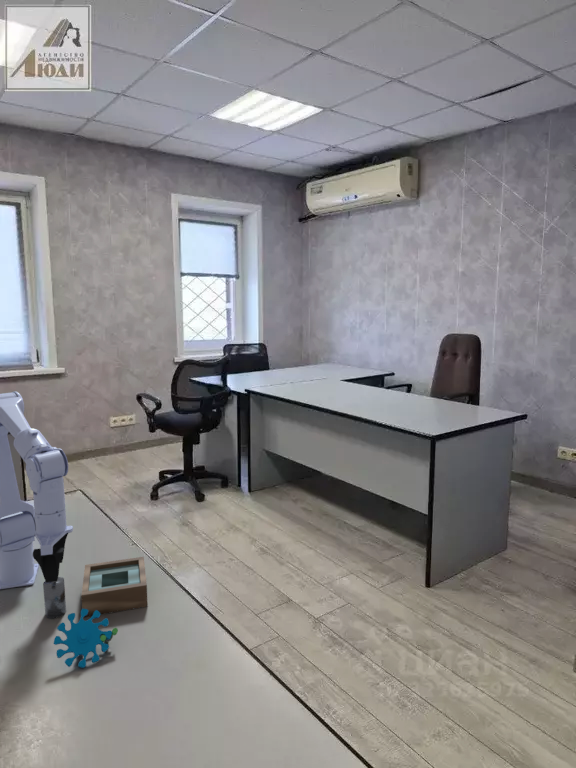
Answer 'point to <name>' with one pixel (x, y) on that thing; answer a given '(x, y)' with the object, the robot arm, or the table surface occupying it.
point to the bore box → (114, 586)
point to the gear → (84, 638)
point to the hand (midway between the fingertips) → (54, 571)
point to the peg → (54, 598)
